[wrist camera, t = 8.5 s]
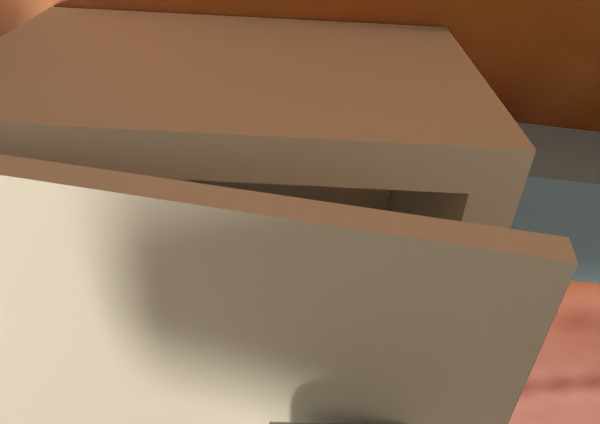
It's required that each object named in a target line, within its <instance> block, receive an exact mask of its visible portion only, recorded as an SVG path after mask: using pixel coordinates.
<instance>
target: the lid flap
mask: <svg viewBox="0 0 600 424" xmlns="http://www.w3.org/2000/svg"><path fill="white" fill-rule="evenodd" d="M577 265H578V261H577V258H576V255H575V253H574V250H573V247H572V244H571V242H570V239H569V237H563V236H556V235H549V234H543V233H536V232H529V231H522V230H515V229H508V228H502V227H495V226H488V225H481V224H474V223H467V222H461V221H454V220H447V219H440V218H433V217H426V216H420V215H413V214H406V213H399V212H392V211H386V210H379V209H372V208H365V207H358V206H351V205H345V204H338V203H331V202H324V201H317V200H310V199H304V198H297V197H290V196H283V195H276V194H269V193H263V192H256V191H249V190H242V189H235V188H228V187H222V186H215V185H208V184H201V183H194V182H187V181H181V180H174V179H167V178H160V177H153V176H147V175H140V174H133V173H126V172H119V171H112V170H106V169H99V168H92V167H85V166H78V165H71V164H65V163H58V162H51V161H44V160H37V159H30V158H24V157H17V156H10V155H3V154H0V424H269V423H270V421H273V422H296V423H324V424H329V423H349V424H508V422H509V420H510V418H511V415H512V413H513V411H514V409H515V406H516V404H517V402H518V400H519V397H520V395H521V393H522V390H523V388H524V386H525V384H526V381H527V379H528V377H529V374H530V372H531V370H532V368H533V365H534V363H535V361H536V358H537V356H538V354H539V352H540V349H541V347H542V345H543V343H544V340H545V338H546V336H547V333H548V331H549V329H550V327H551V324H552V322H553V320H554V317H555V315H556V313H557V311H558V308H559V306H560V304H561V301H562V299H563V297H564V295H565V292H566V290H567V288H568V286H569V283H570V281H571V279H572V276H573V274H574V272H575V270H576V267H577Z"/></svg>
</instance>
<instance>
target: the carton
mask: <svg viewBox="0 0 600 424" xmlns="http://www.w3.org/2000/svg"><path fill="white" fill-rule="evenodd" d="M535 153H536V148H535V147H534V146H533V144H532V143H531V142H530V140H529V139H528V138H527V136H526V135H525V133H524V132H523V131H522V129H521V128H520V127H519V125H518V124H517V123H516V121H515V120H514V118H513V117H512V116H511V114H510V113H509V112H508V110H507V109H506V108H505V106H504V105H503V103H502V102H501V101H500V99H499V98H498V97H497V95H496V94H495V93H494V91H493V90H492V88H491V87H490V86H489V84H488V83H487V82H486V80H485V79H484V78H483V76H482V75H481V73H480V72H479V71H478V69H477V68H476V67H475V65H474V64H473V63H472V61H471V60H470V58H469V57H468V56H467V54H466V53H465V52H464V50H463V49H462V48H461V46H460V45H459V43H458V42H457V41H456V39H455V38H454V37H453V35H452V34H451V33H450V31H449V30H448V28H447V27H438V26H419V25H399V24H380V23H360V22H341V21H321V20H302V19H282V18H263V17H243V16H224V15H204V14H184V13H165V12H145V11H126V10H106V9H87V8H67V7H50V8H48V9H47V10H45V11H43V12H42V13H40V14H39V15H37V16H35V17H34V18H32V19H30V20H29V21H27V22H25V23H24V24H22V25H20V26H19V27H17V28H15V29H14V30H12V31H10V32H9V33H7V34H5V35H4V36H2V37H0V154H3V155H10V156H17V157H24V158H30V159H37V160H44V161H51V162H58V163H65V164H71V165H78V166H85V167H92V168H99V169H106V170H112V171H119V172H126V173H133V174H140V175H147V176H153V177H160V178H167V179H174V180H181V181H187V182H194V183H201V184H208V185H215V186H222V187H228V188H235V189H242V190H249V191H256V192H263V193H269V194H276V195H283V196H290V197H297V198H304V199H310V200H317V201H324V202H331V203H338V204H345V205H351V206H358V207H365V208H372V209H379V210H386V211H392V212H399V213H406V214H413V215H420V216H426V217H433V218H440V219H447V220H454V221H461V222H467V223H474V224H481V225H488V226H495V227H502V228H508V229H510V228H511V225H512V222H513V219H514V216H515V213H516V210H517V207H518V204H519V201H520V198H521V195H522V192H523V189H524V186H525V183H526V180H527V177H528V174H529V171H530V168H531V165H532V162H533V159H534V156H535Z"/></svg>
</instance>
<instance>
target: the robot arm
mask: <svg viewBox="0 0 600 424" xmlns="http://www.w3.org/2000/svg"><path fill="white" fill-rule="evenodd" d="M269 424H324V423H296V422H273V421H270V423H269ZM329 424H349V423H329Z"/></svg>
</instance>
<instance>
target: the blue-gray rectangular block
mask: <svg viewBox="0 0 600 424" xmlns="http://www.w3.org/2000/svg"><path fill="white" fill-rule="evenodd" d="M516 123H517V124H518V125H519V127H520V128H521V129H522V131H523V132H524V133H525V135H526V136H527V138H528V139H529V140H530V142H531V143H532V144H533V146H534V147H535V148H536V153H535V156H534V159H533V162H532V165H531V168H530V171H529V174H528V177H527V180H526V183H525V186H524V189H523V192H522V195H521V198H520V201H519V204H518V207H517V210H516V213H515V216H514V219H513V222H512V225H511V228H510V229H515V230H522V231H529V232H536V233H543V234H549V235H556V236H563V237H569V239H570V242H571V244H572V247H573V250H574V253H575V255H576V258H577V261H578V265H577V267H576V270H575V272H574V274H573V276H572V279H571V280H574V281H584V282H593V283H600V132H597V131H588V130H579V129H571V128H562V127H553V126H545V125H536V124H527V123H519V122H516Z"/></svg>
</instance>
